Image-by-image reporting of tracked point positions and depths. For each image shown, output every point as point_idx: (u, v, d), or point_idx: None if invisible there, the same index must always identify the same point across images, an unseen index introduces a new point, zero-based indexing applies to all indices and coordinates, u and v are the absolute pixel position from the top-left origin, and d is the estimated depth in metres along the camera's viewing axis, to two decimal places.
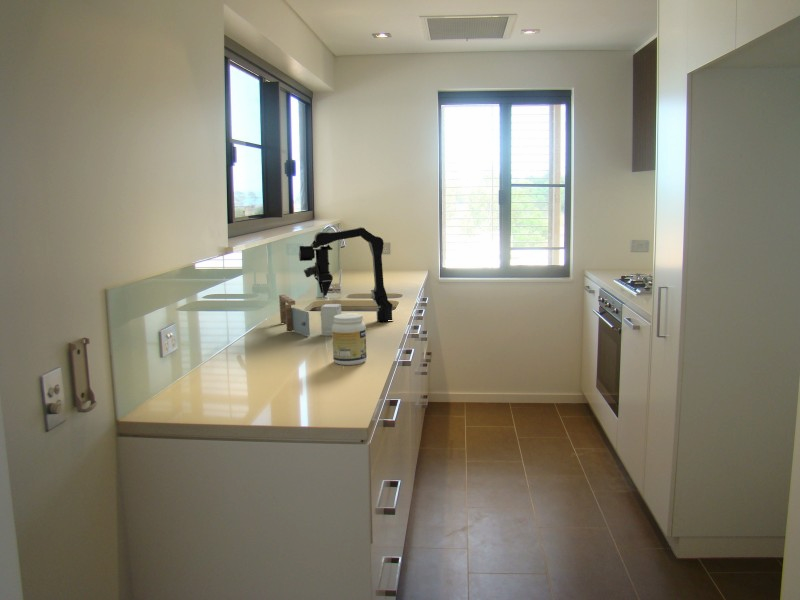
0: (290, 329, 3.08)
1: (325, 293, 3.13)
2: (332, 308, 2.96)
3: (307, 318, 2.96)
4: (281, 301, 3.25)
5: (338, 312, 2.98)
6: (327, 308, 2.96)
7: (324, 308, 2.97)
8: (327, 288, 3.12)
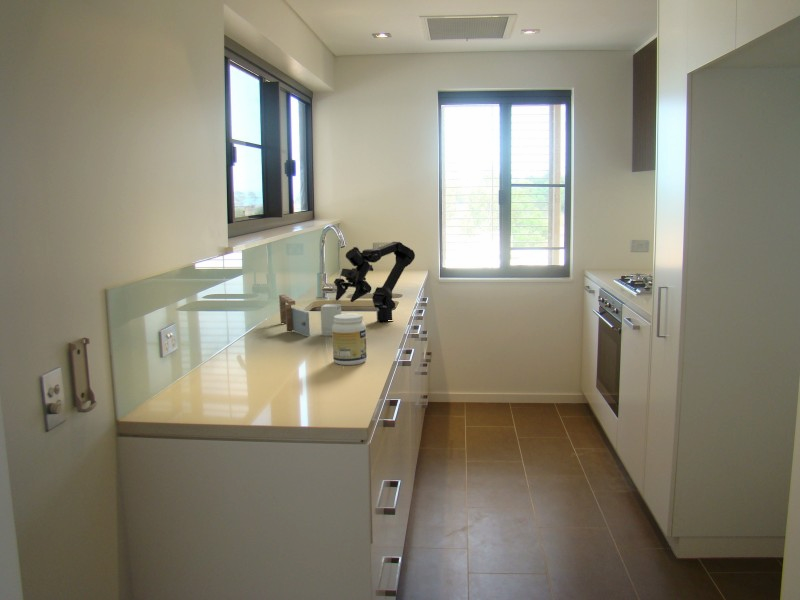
0: (290, 329, 3.08)
1: (353, 300, 3.03)
2: (332, 308, 2.96)
3: (307, 318, 2.96)
4: (281, 301, 3.25)
5: (338, 312, 2.98)
6: (327, 308, 2.96)
7: (324, 308, 2.97)
8: (357, 297, 3.04)
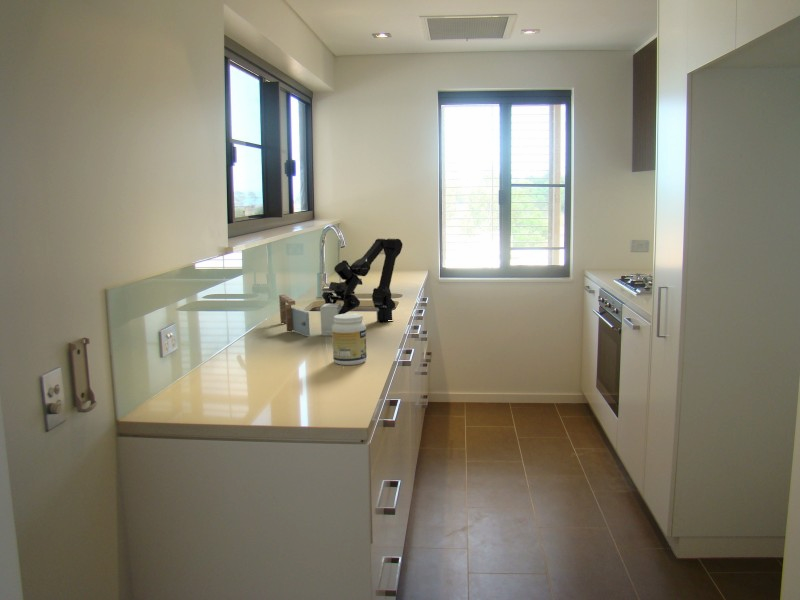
0: (290, 329, 3.08)
1: None
2: (332, 308, 2.95)
3: (307, 318, 2.96)
4: (281, 301, 3.25)
5: (338, 312, 2.98)
6: (327, 308, 2.96)
7: (324, 308, 2.96)
8: (345, 311, 2.99)
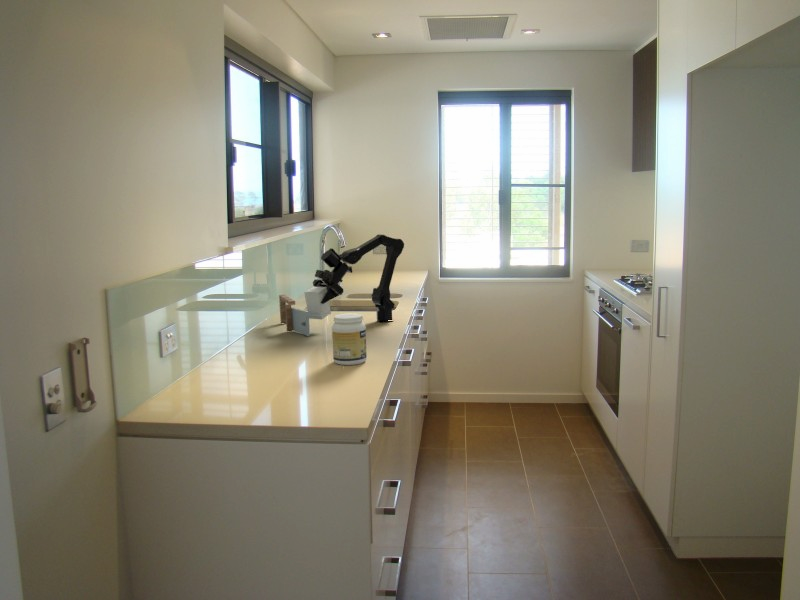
0: (290, 329, 3.08)
1: (324, 301, 3.01)
2: (314, 293, 3.00)
3: (307, 318, 2.96)
4: (281, 301, 3.25)
5: (321, 296, 3.01)
6: (310, 293, 3.01)
7: (307, 293, 3.02)
8: (329, 298, 3.02)
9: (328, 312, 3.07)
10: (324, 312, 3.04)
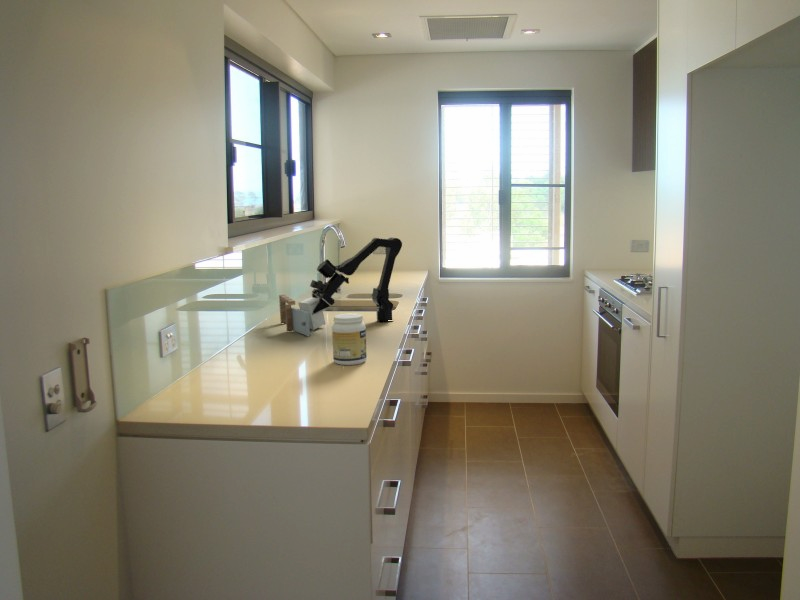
0: (290, 329, 3.08)
1: (315, 311, 3.09)
2: (305, 304, 3.08)
3: (307, 318, 2.96)
4: (281, 301, 3.25)
5: (313, 308, 3.09)
6: (302, 304, 3.10)
7: (300, 304, 3.11)
8: (320, 308, 3.09)
9: (322, 323, 3.14)
10: (316, 322, 3.11)
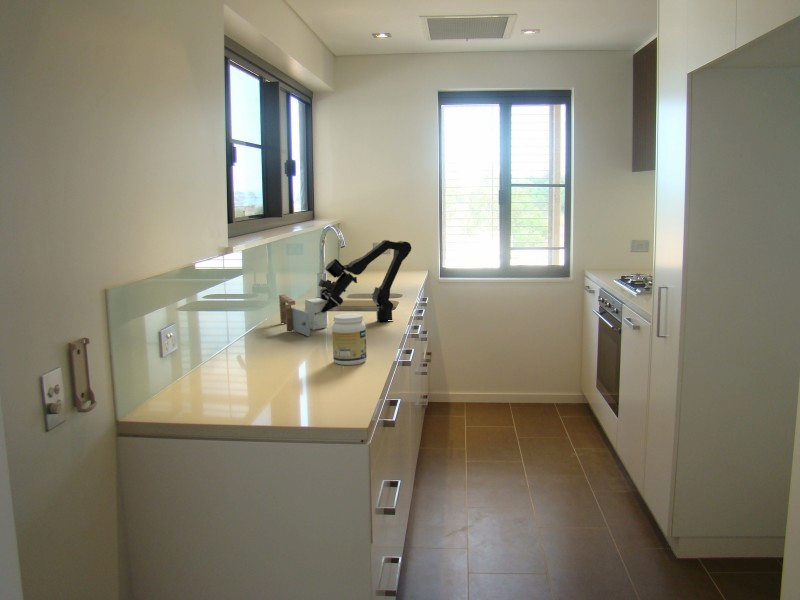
0: (290, 329, 3.08)
1: (323, 310, 3.10)
2: (311, 303, 3.10)
3: (307, 318, 2.96)
4: (281, 301, 3.25)
5: (317, 308, 3.10)
6: (308, 302, 3.11)
7: (307, 302, 3.12)
8: (329, 308, 3.10)
9: (323, 325, 3.14)
10: (317, 323, 3.12)
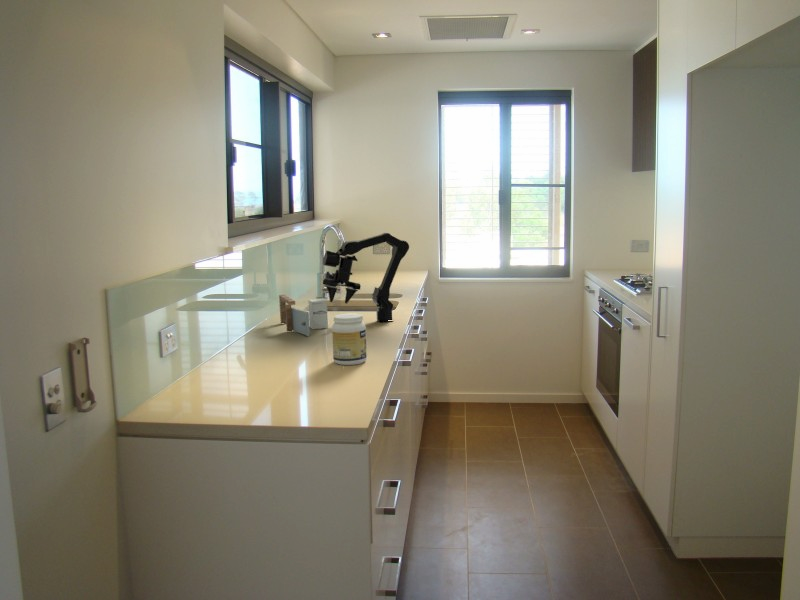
0: (290, 329, 3.08)
1: (330, 299, 3.14)
2: (310, 302, 3.12)
3: (307, 318, 2.96)
4: (281, 301, 3.25)
5: (316, 307, 3.11)
6: (309, 302, 3.14)
7: (309, 301, 3.16)
8: (331, 294, 3.13)
9: (324, 325, 3.14)
10: (317, 323, 3.13)
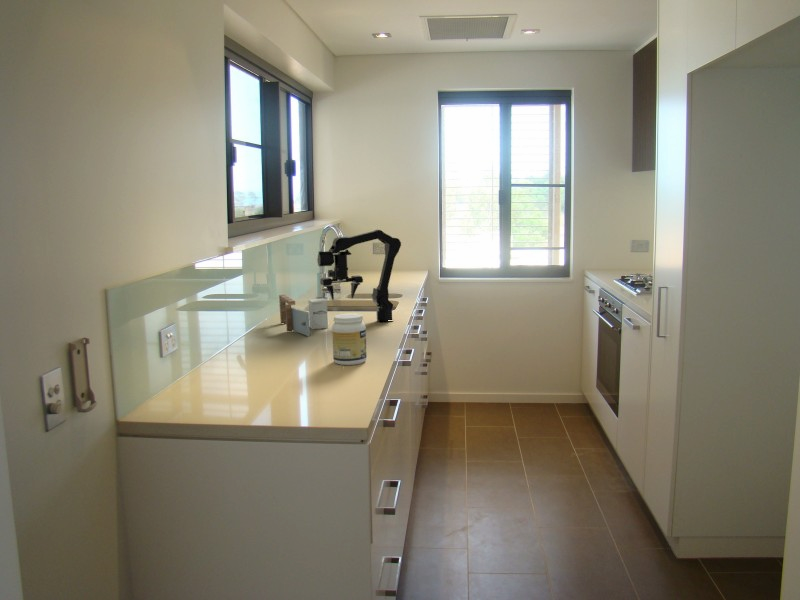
0: (290, 329, 3.08)
1: (331, 297, 3.17)
2: (310, 302, 3.12)
3: (307, 318, 2.96)
4: (281, 301, 3.25)
5: (316, 307, 3.11)
6: (309, 302, 3.14)
7: (309, 301, 3.16)
8: (330, 293, 3.15)
9: (324, 325, 3.14)
10: (317, 323, 3.13)
